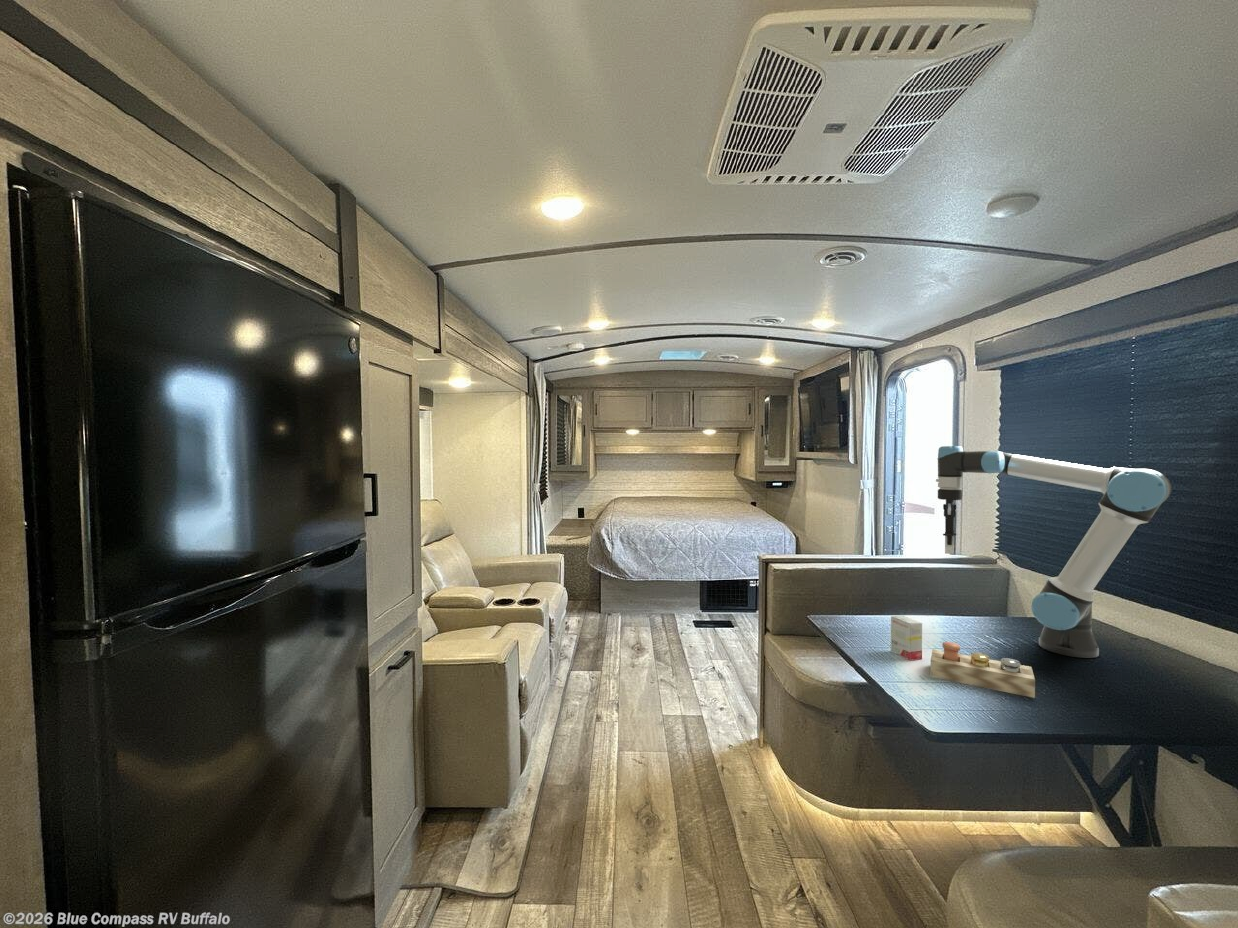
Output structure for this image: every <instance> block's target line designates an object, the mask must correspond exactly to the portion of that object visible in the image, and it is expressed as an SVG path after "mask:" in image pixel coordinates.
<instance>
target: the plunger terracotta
mask: <svg viewBox="0 0 1238 928" xmlns="http://www.w3.org/2000/svg"><path fill="white" fill-rule="evenodd" d="M942 648H943V651H944V659H946V660H951V661H957V662H958V654H959V652H960V650H961V645H960V644H958V643H956V642H955V643H954V642H951V641H945V642H942Z"/></svg>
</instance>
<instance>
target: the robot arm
mask: <svg viewBox="0 0 1238 928" xmlns="http://www.w3.org/2000/svg"><path fill="white" fill-rule="evenodd" d="M936 459H937V479H936V480H935V482H937V487H938V489H937V499H938V500H943V501H944V500H945V503H943V505H942V509H943V517H944V519H945V521H944V522H945V523H944V524H945V527H944V528H945V531H944V533H942V536H944V554H945V555H946V554H948V555H955V536H957V533H955V528H954V527H955V524H954V523H955V517H956V510H957V504H954V503H955V502H954V501H961V500H963V490H962V489H963V487H964V486H963V485H964V484H963V479H964V478H963V473H976V474H977V473H978V474H1001V475H1009V476H1013V477H1014V476H1015V477H1019V478H1024V479H1029V480H1033V481H1039V482H1047V483H1050V484H1051V483H1052V484H1056V485H1062V486H1067V487H1072V488H1077V489H1082V490H1083V489H1084V490H1087V491H1088V490H1089V491H1093V492H1100V493H1102V494H1103V495H1102V497H1101V499H1100V500H1099V502H1098V506H1099V509H1100V512H1099V514H1098V515H1097V517H1096V518H1095V519H1094V521H1093V523H1092V524H1091V526H1090V527H1089V529H1088V530H1087V531H1086V533H1085V534H1084V537H1083V538H1082V539H1081V541H1080V542H1079V544H1078V545H1077V547H1076V549H1075V550H1074V552H1073V553H1072V555H1071V557H1069V559H1068V560H1067V563H1066V564H1065V566H1064V567H1063V569H1062V570H1061V572H1060V573H1059V574H1058V576H1052V577H1049V578H1047V579H1046V580H1045V585H1044V586H1043V587H1042V589H1041V591H1040V592H1039V593H1038V594H1037V595H1035V596H1034V598H1033V599H1032V601H1031V605H1030V607H1031V613H1032V615H1033V617H1034V618H1035V620H1037V622H1038V623H1040V624H1041V625H1043V628H1042V631H1041V633H1040V635H1039V637H1038V646H1040V647H1041V648H1042V649H1043V650H1046V651H1048V652H1052V653H1054V654H1055V653H1056V654H1059V655H1063V656H1065V657H1066V656H1067V657H1072V658H1073V657H1074V658H1078V659H1079V658H1082V659H1093V658H1098V657H1099V654H1100V649H1099V647H1098V646H1099V645H1098V644H1097V641H1096V639H1095V635H1094V633H1093V630H1092V629H1093V625H1092V624H1093V623H1092V622H1093V602H1094V601H1095V597H1094V594H1093V590H1094V589H1095V588H1096V586H1097V585H1098V583H1099V582H1100V581H1101V579H1102V578H1103V576H1104V575H1105V574H1106V572H1107V570H1108V569H1109V568H1110V566H1111V564H1112V563H1113V562H1114V560H1115V559H1116V558H1117V556H1118V554H1119V553H1120V551H1122V549H1123V547H1124V546H1125V544H1126V543H1127V541H1128V540H1129V538H1130V537H1131V536H1132V534H1133V533H1134V531H1135V530H1136V529H1137V527H1138V526H1139V525H1141V524H1147V523H1149V522H1150V520H1151V519H1152V518H1153V517H1154V515H1155V514H1156V512H1157V511H1158V509H1159V508H1160V507H1161V505H1162V503H1164V502H1166V501H1167V500H1168V498H1169V497H1170V495H1171V493H1172V485H1171V482H1170V479H1168V478H1167V477H1166V476H1165V475H1164V474H1163V473H1161V472H1159V471H1157V470H1155V469H1150V468H1129V467H1117V466H1113V467H1110V468H1105V467H1104V468H1103V467H1097V466H1092V465H1084V464H1080V463H1079V464H1078V463H1071V462H1067V461H1059V460H1053V459H1048V458H1047V459H1045V458H1040V457H1036V456H1035V457H1034V456H1028V455H1021V454H1015V453H1014V454H1012V453H1010V452H1009V453H1008V452H1003V451H999V450H986V451H984V450H983V451H982V450H980V451H979V450H977V451H966V450H964V449H963V446H961V445H960V446H959V445H948V446H946V445H944V446H940V447H939V448H938V451H937V458H936Z"/></svg>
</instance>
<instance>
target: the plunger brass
mask: <svg viewBox="0 0 1238 928" xmlns="http://www.w3.org/2000/svg"><path fill="white" fill-rule="evenodd" d="M970 656H971V659H972V664H973V665H978V666H984V667H988V662H989V659H990V656H989V655H988V654H984V653H981V652H971V653H970Z"/></svg>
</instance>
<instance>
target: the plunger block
mask: <svg viewBox="0 0 1238 928" xmlns="http://www.w3.org/2000/svg"><path fill="white" fill-rule="evenodd" d="M930 655H931V656H930V662H929V663H930V665H929V666H930V668H929V669H930V671H929V672H930V674H929V675H930V677H931V678H935V679H940V680H945V681H948V682H949V681H950V682H955V683H961V684H964V685H970V686H974V687H979V688H984V689H990V690H994V691H999V692H1002V693H1003V692H1004V693H1009V694H1013V695H1019V696H1023V697H1028V698H1033V699H1035V698H1036V678H1035V675H1034V672H1033V671H1034V670H1033V668H1032V666H1029V665H1024V664H1023V665H1022V664H1020V667H1019V673H1016V672H1011V671H1005V670H1002V667H1003V665H1002V664H1001V660H996V659H990V658H989V662H988V667H984V666H978V665H973V664H972V659H971V655H966V654H962V653H958V662H957V661H951V660H946V659H944V650H940V649H932V650H931V654H930Z"/></svg>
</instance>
